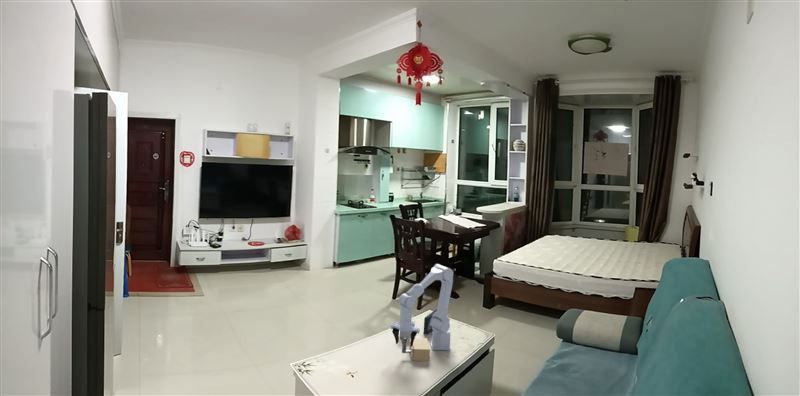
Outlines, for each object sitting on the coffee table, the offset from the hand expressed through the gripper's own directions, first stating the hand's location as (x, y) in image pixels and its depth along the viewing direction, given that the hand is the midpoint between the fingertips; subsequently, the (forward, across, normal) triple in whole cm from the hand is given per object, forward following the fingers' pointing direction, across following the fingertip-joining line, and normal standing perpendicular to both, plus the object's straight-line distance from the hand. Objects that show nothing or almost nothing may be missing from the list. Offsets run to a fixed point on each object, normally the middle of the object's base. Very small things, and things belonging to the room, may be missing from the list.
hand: (404, 344), depth 198 cm
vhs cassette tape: (+7, +7, +39) cm, 40 cm away
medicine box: (+7, -5, +23) cm, 24 cm away
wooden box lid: (+7, +1, +3) cm, 7 cm away
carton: (+7, +7, +6) cm, 11 cm away
